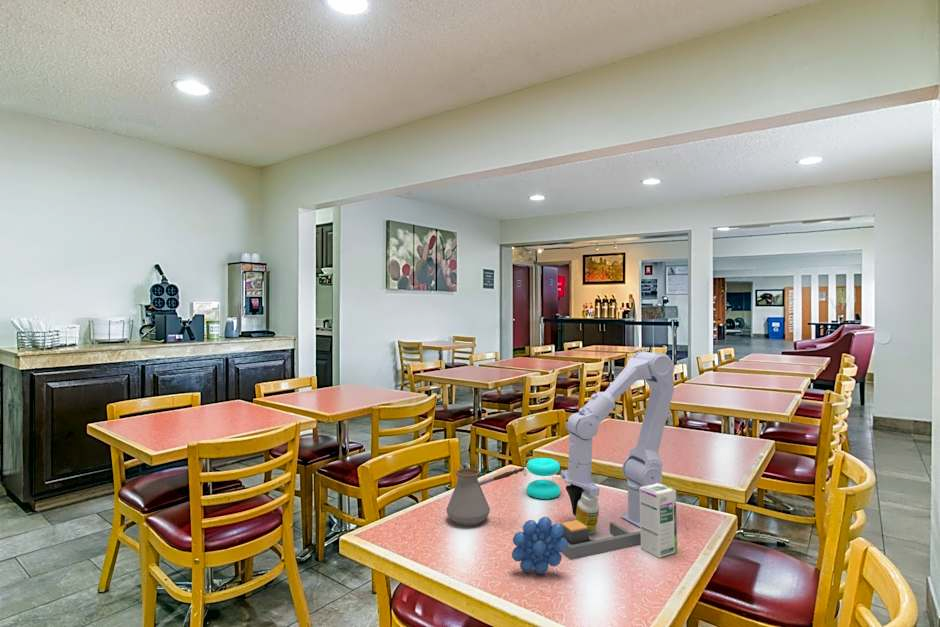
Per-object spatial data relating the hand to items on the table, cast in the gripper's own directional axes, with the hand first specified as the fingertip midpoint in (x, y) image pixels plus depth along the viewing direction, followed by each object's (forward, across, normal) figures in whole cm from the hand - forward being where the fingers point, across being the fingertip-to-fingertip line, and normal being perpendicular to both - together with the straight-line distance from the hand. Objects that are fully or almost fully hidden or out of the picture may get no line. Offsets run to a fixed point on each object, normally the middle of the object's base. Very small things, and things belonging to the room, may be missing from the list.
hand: (577, 515), depth 132 cm
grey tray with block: (+3, +10, -1) cm, 10 cm away
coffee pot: (+5, -12, -20) cm, 24 cm away
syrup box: (+3, +18, +10) cm, 21 cm away
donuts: (+4, -24, +4) cm, 25 cm away
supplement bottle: (+3, +2, +1) cm, 3 cm away
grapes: (+4, +16, -20) cm, 25 cm away
